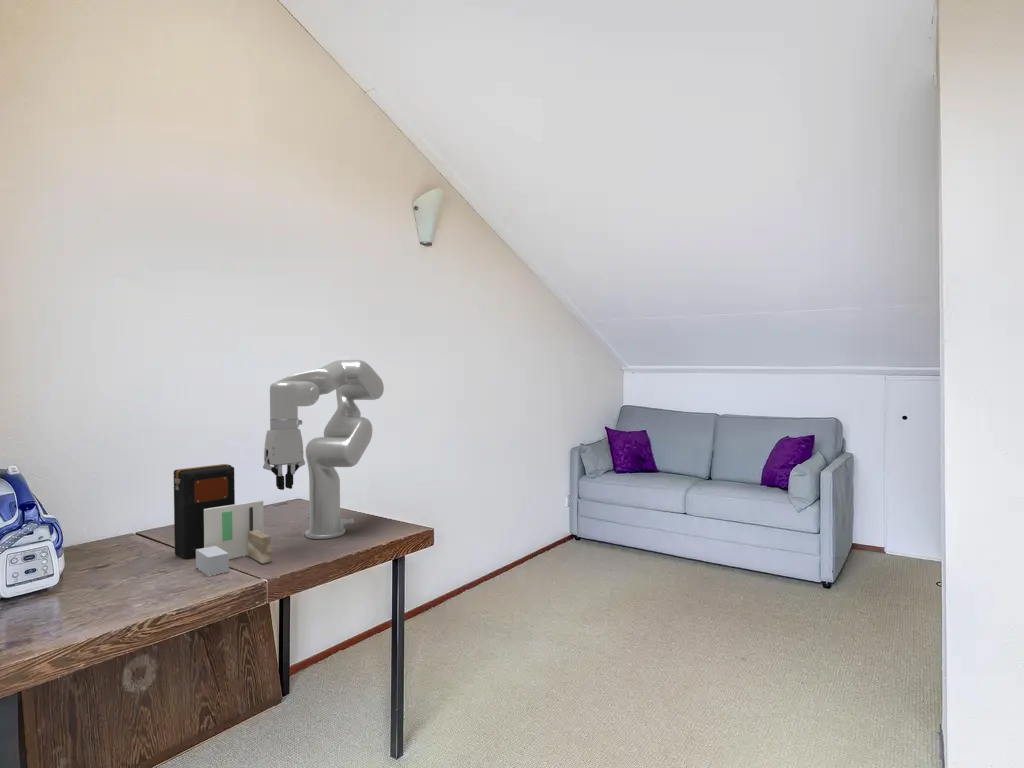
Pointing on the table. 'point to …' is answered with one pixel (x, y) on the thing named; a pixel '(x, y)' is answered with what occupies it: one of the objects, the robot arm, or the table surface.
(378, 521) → the table surface
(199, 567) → the white board with blocks
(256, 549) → the tall beige wooden block
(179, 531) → the voltmeter
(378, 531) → the table surface
